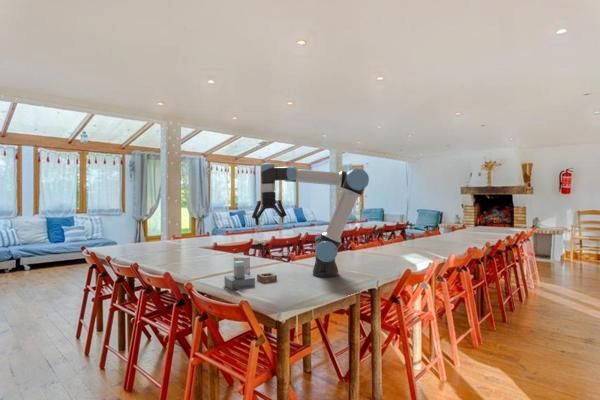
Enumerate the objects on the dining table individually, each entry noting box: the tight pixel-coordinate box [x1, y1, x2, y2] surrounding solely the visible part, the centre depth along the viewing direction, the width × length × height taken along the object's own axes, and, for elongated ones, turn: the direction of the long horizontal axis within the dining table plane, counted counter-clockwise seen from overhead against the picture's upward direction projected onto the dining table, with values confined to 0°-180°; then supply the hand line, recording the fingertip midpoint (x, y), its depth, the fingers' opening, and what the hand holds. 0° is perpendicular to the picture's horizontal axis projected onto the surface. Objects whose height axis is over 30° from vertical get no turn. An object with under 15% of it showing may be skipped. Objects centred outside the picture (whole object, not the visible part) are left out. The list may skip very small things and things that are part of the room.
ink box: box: [233, 256, 251, 276], centre depth 201 cm, size 9×5×12 cm, turn 74°
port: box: [224, 274, 256, 292], centre depth 179 cm, size 12×12×5 cm
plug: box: [233, 260, 245, 279], centre depth 179 cm, size 4×4×12 cm
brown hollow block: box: [256, 272, 278, 284], centre depth 188 cm, size 8×8×4 cm
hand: (270, 229), depth 192 cm, fingers open, 13 cm apart
